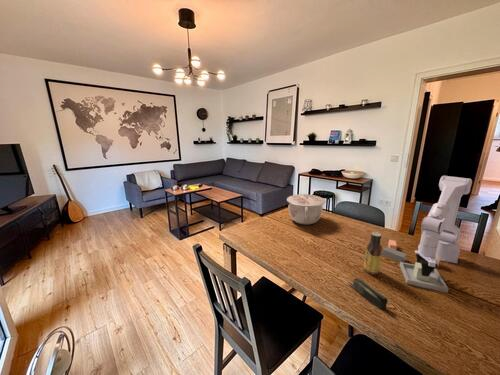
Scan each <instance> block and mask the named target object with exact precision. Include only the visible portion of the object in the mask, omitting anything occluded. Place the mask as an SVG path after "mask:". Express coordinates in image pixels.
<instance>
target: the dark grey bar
mask: <svg viewBox="0 0 500 375" xmlns="http://www.w3.org/2000/svg"><path fill="white" fill-rule="evenodd" d="M348 285H349V286H350V287H352V288H353V289H355V290H356V291H357V292H358V293H360V294H361V295H362V296H363V297H364V298H365V299H367V300H368V301H369V302H370V303H371V304H373V305H374V306H375V307H376V308H378V309H380V310H385V309H386V308H387V304H388V298H386V297H385V296H383V294H381V293H380V292H378V291H377V290H376V289H374V288H373V287H372V286H370V285H369V284H368V283H367V282H365V280H362V279H360V278H358V277H357V278H354V279H353V280H352V284H351V283H349V284H348Z"/></svg>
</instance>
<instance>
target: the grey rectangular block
mask: <svg viewBox="0 0 500 375" xmlns="http://www.w3.org/2000/svg"><path fill="white" fill-rule="evenodd" d="M381 256H384V257H385V258H387V259H391V260H392V261H393V260H394V261H395V262H397V263H400V262H403V263H405V262H406V260H407V256H408V254H406V253H405V252H402V251H399V250H394V249H392V248H389V246H385V247H384V248H382V255H381Z"/></svg>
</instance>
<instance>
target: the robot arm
mask: <svg viewBox="0 0 500 375" xmlns="http://www.w3.org/2000/svg"><path fill="white" fill-rule="evenodd" d="M472 184H473V180H472V179H471V178H467V177H466V178H465V177H460V176H459V177H458V176H450V175H449V176H448V175H442V176H441V177H440V179H439V183H438V187H439V191H441V194H440V196H439V199H438V201H437V202H436V203H433V204H432V206H431V208H430V210H429V211H428V214H427V216H424V218H423V219H422V221H421V231H420V233H421V237H420V242H419V244H418V246H417V249H416V250H414V253H415V256H416V262H417V263H421V266H422V276H427V277H428V276H429V275H430V273H431V272H432V271H433V270H434V269H436V268H439V266H438V265H437V263H436V262H435V259H436V254H437V255H439V256H440V257H441V258H440V261H441V262H442V261H443V262H447V263H453V264H458V263H459V262H458V259H459V257H460V256H459V255H460V253H461V247H460V244H459V243H460V239H461V236H462V235H461V233H462V230H461V229H460V227H458V226H457V225H456V224H455V223H456V220H457V215H458V212H459V211H458V210H459V208H460V203H461V198H462V197H463V195H468V194H470V192H471V187H472Z"/></svg>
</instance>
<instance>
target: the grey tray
mask: <svg viewBox="0 0 500 375" xmlns="http://www.w3.org/2000/svg"><path fill="white" fill-rule="evenodd" d="M414 267H415V264H413V263H408V262H399V268H400V270H401V273H402V276H403V278H404V280H405V283H406V285H410V286H414V287H417V288H423V289H426V290H427V289H428V290H431V291H436V292H442V293H446V294H448V292H449V287H448V286H447V284H446V282H445V280H444V279H443V277H442V276H441V275H440V273H439V271H438V270H437V269H436V268H435V269H434V270H433V271H432V272H431V273H430V277H429V281H425V280H420V279H416V277H415V275H414V273H413V272H414Z"/></svg>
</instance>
